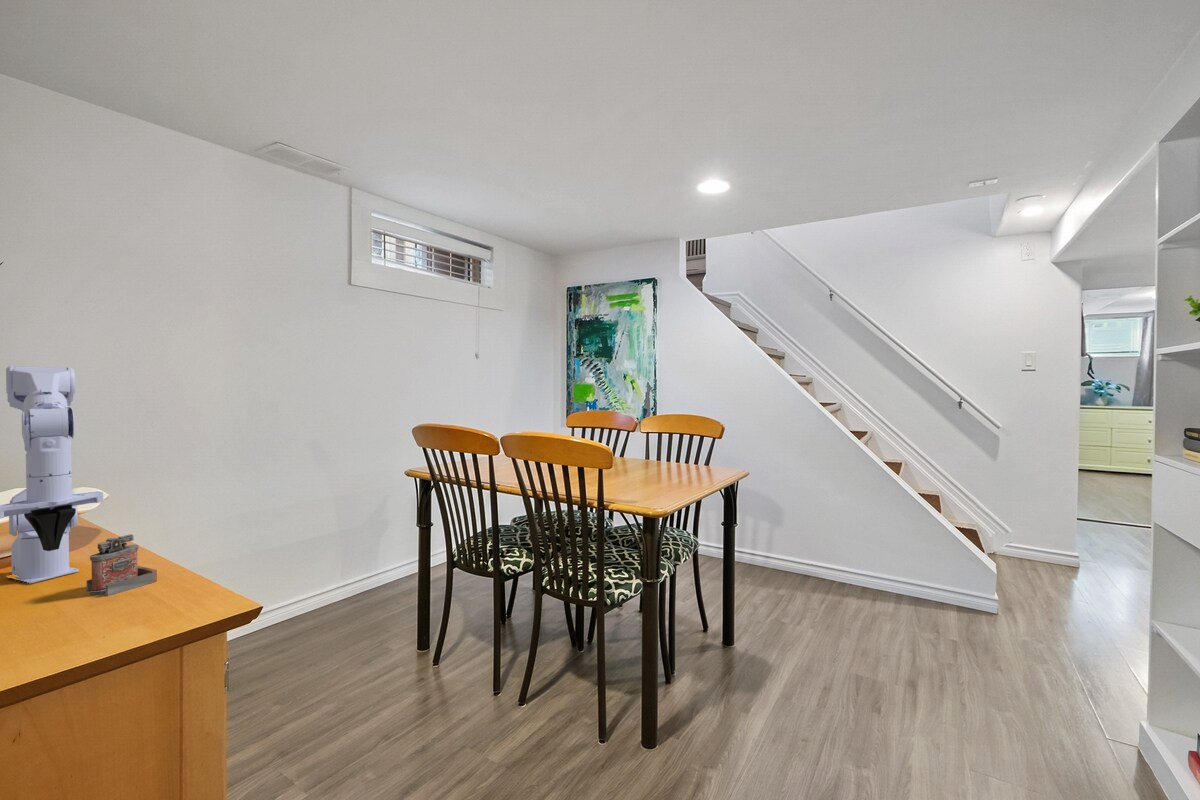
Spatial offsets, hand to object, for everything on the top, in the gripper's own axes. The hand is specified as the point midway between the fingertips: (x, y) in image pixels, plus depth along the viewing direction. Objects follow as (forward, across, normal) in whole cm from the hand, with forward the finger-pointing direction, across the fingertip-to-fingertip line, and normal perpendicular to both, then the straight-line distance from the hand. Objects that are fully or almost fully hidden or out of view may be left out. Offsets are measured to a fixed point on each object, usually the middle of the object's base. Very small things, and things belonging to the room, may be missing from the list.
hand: (51, 549), depth 94 cm
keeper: (+10, +10, 0) cm, 15 cm away
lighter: (+11, +9, 0) cm, 14 cm away
